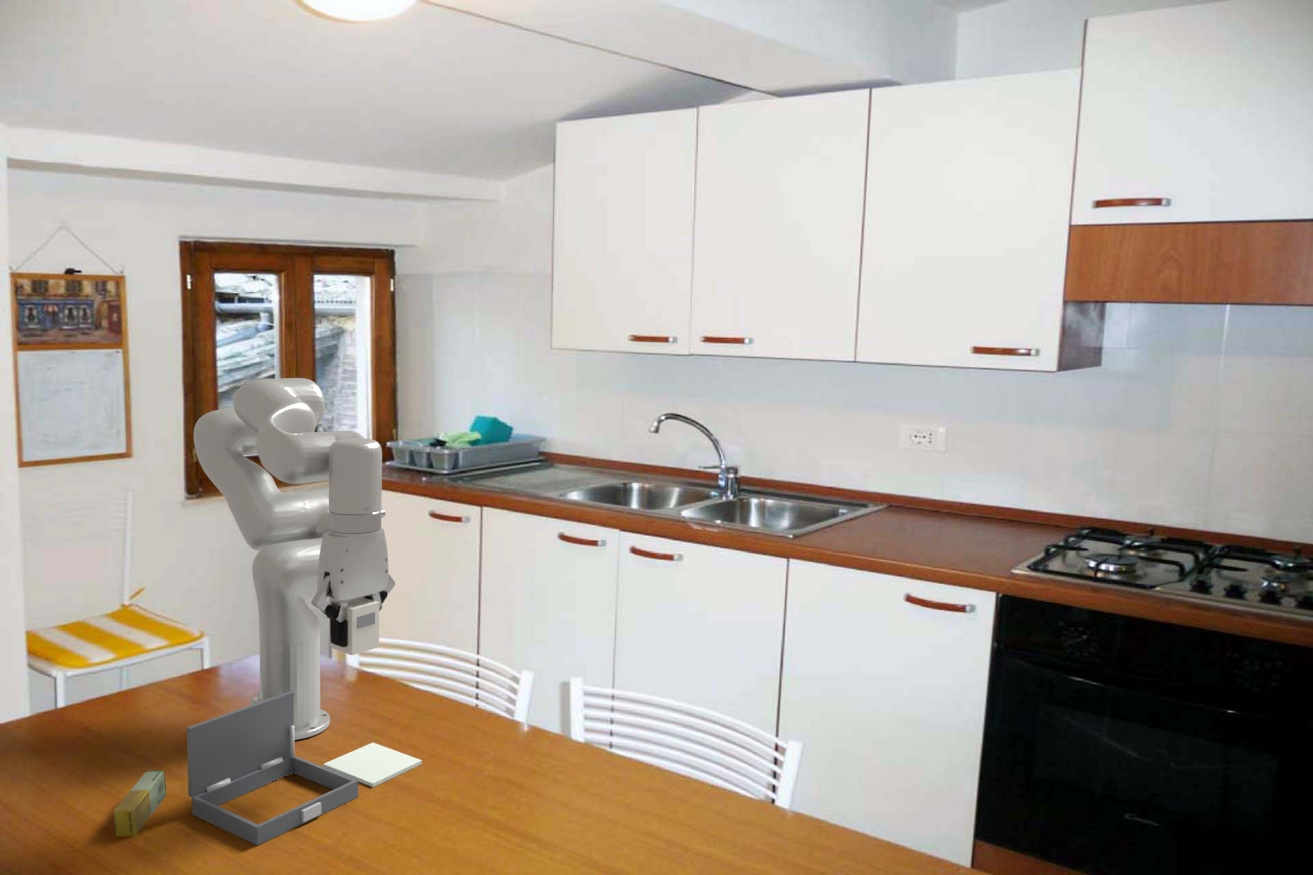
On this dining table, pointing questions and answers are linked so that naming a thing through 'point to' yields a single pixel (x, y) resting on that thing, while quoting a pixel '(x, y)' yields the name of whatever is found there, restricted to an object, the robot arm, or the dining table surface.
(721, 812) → the dining table surface
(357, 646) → the block
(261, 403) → the robot arm
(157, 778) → the medication box
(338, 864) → the dining table surface
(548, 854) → the dining table surface
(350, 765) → the mat
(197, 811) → the case
